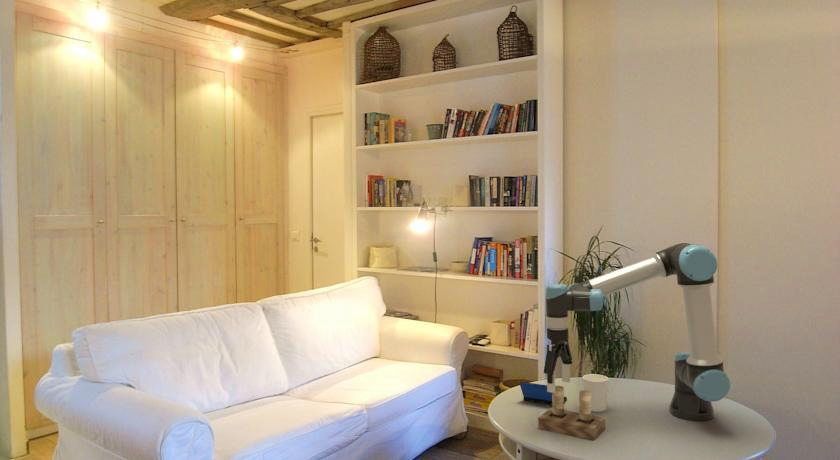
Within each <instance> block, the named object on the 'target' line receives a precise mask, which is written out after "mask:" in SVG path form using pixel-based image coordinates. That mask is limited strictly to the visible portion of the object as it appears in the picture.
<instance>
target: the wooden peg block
mask: <svg viewBox="0 0 840 460" xmlns="http://www.w3.org/2000/svg"><path fill="white" fill-rule="evenodd" d="M578 393H579V395H578V398H579V399H578V400H579V403H578V404H579V405H578V406H579V411H578V412H576V411H571V410H566V409H564V418H557V417H552V407H550V408H549V409H548V410H546V411H545V412H544V413H542V414H541V415H539V416H538V418H537V423H538V424H537V425H538V426H537V428H538V429H539V430H545V431H548V432H553V433H558V434H561V435H562V434H563V435H567V436H571V437H577V438H581V439H584V440H585V439H586V440H590V441H595V440H596V439H597V438H598V437H599V436H601V434H602V433H603V432H604V431H605V430H606V417H602V416H597V415H593V414H592V411H591V392H590V391H587V390H583V389H581V390H579V392H578Z"/></svg>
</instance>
